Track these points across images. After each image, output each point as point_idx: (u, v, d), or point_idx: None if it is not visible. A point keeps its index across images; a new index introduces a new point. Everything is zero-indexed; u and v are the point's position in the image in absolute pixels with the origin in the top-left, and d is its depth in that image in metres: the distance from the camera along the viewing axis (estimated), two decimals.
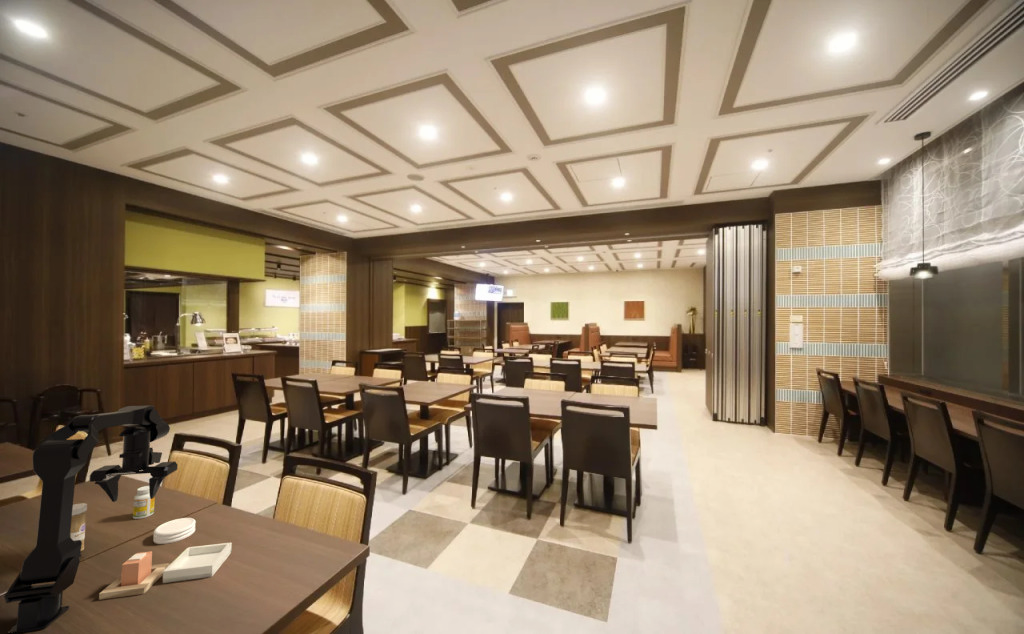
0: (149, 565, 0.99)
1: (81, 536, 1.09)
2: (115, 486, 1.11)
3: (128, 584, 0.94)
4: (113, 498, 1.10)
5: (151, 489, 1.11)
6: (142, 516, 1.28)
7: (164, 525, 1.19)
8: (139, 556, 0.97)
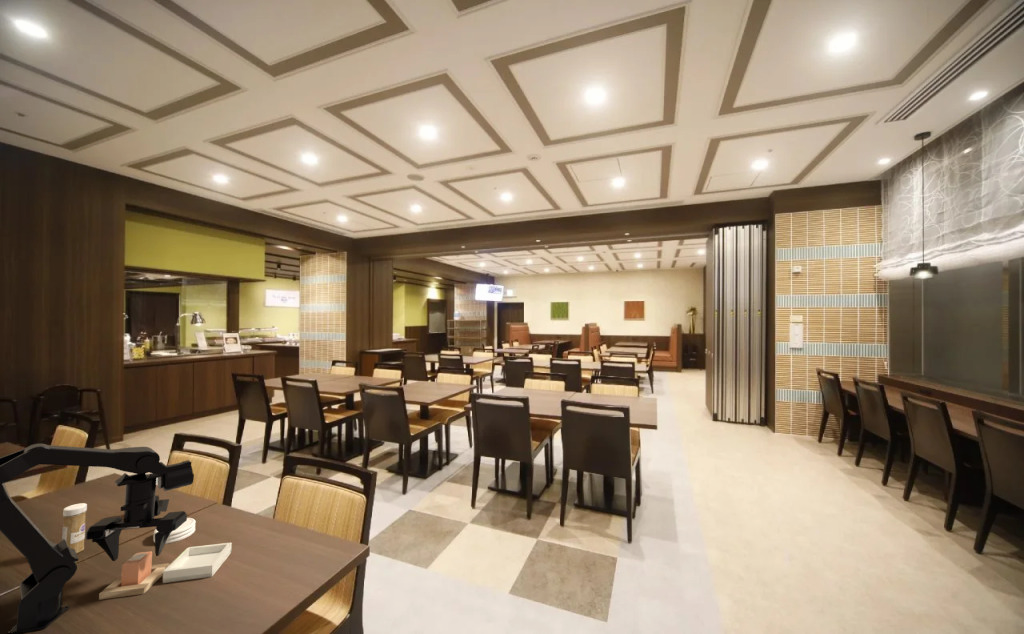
0: (149, 565, 0.99)
1: (81, 536, 1.09)
2: (116, 542, 0.96)
3: (128, 584, 0.94)
4: (113, 557, 0.95)
5: (157, 546, 0.97)
6: None
7: None
8: (139, 556, 0.97)
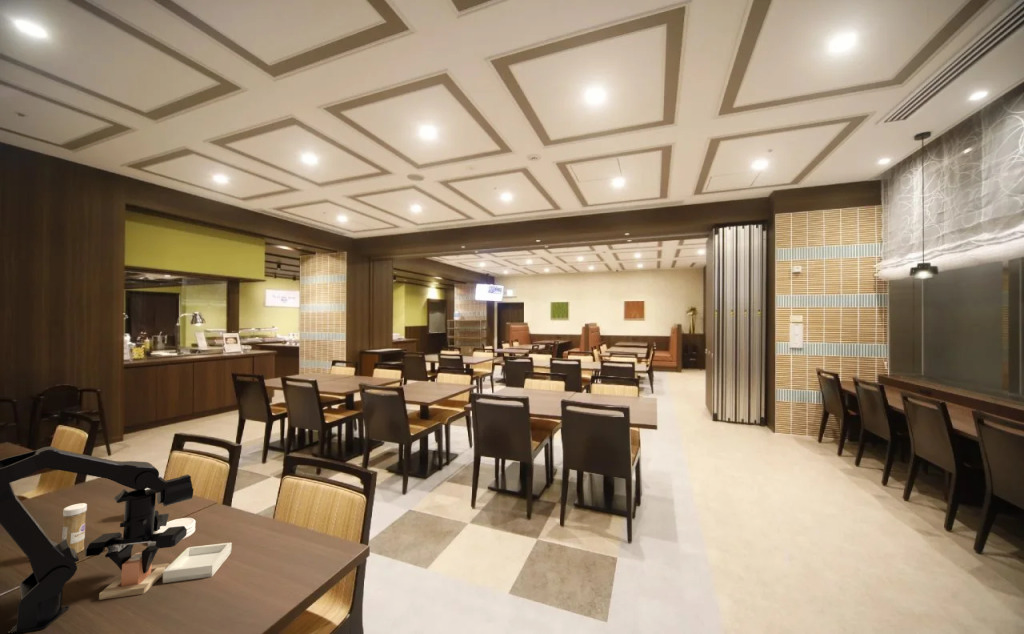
0: None
1: (81, 536, 1.09)
2: (128, 557, 0.97)
3: (128, 584, 0.94)
4: None
5: (144, 563, 0.96)
6: None
7: None
8: (139, 556, 0.97)
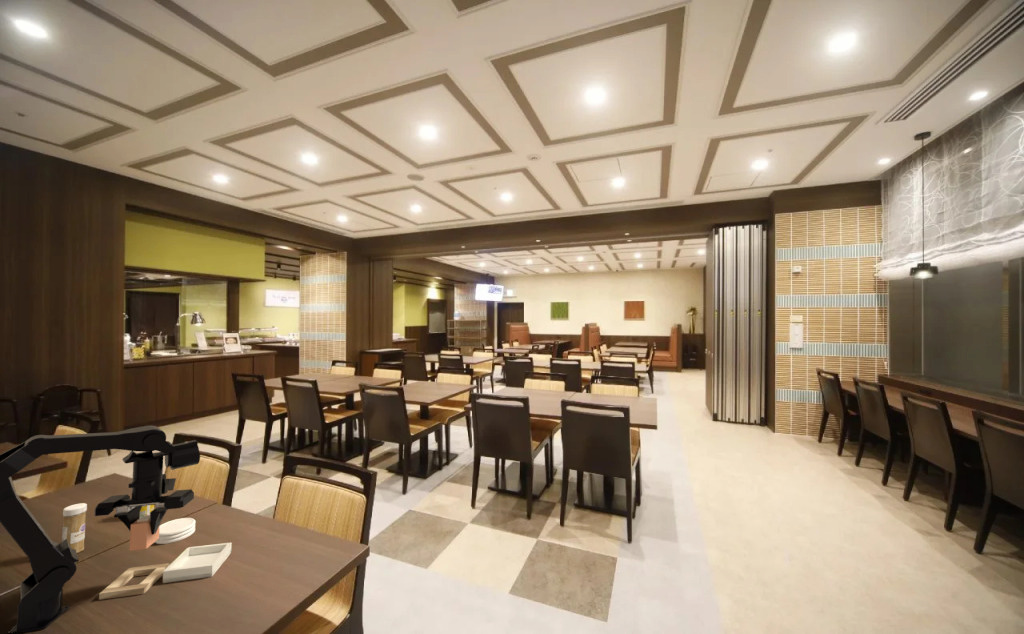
0: None
1: (81, 536, 1.09)
2: (137, 518, 0.98)
3: (137, 544, 0.95)
4: None
5: (152, 524, 0.97)
6: None
7: (164, 525, 1.19)
8: (147, 517, 0.98)
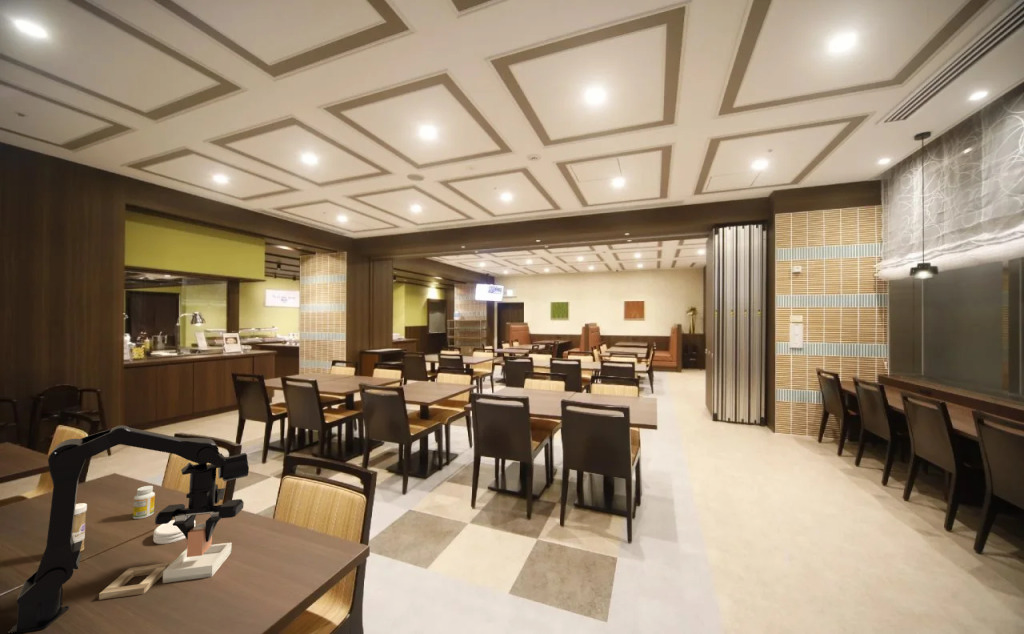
0: None
1: (81, 536, 1.09)
2: (192, 527, 1.04)
3: (193, 551, 1.01)
4: None
5: (207, 532, 1.03)
6: (142, 516, 1.28)
7: (164, 525, 1.19)
8: (202, 525, 1.04)
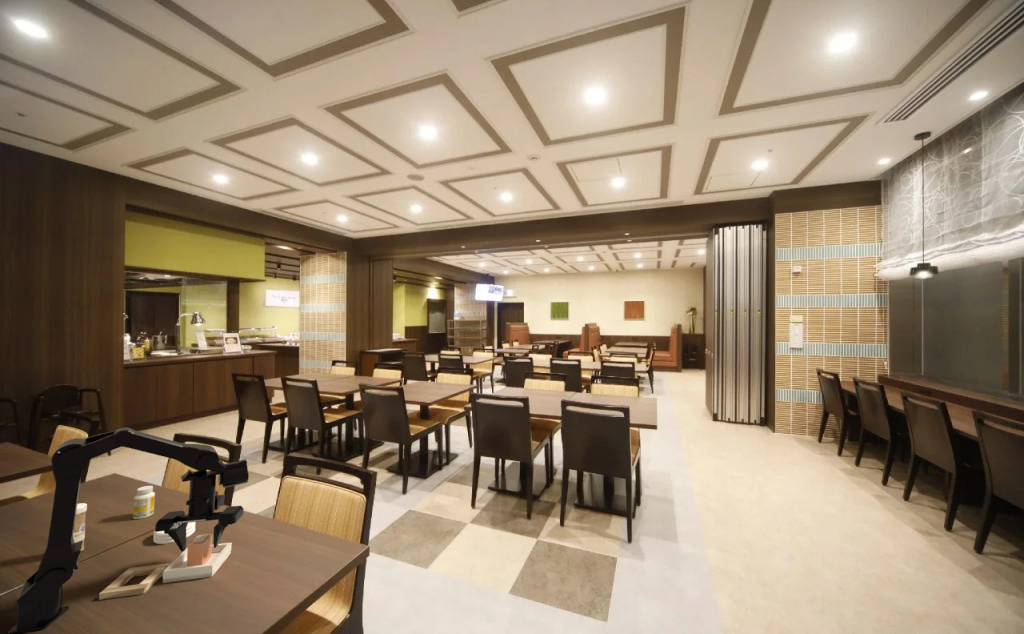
0: (210, 546, 1.06)
1: (81, 536, 1.09)
2: (184, 534, 1.03)
3: (193, 563, 1.01)
4: (182, 548, 1.02)
5: (215, 538, 1.03)
6: (142, 516, 1.28)
7: None
8: (202, 538, 1.04)
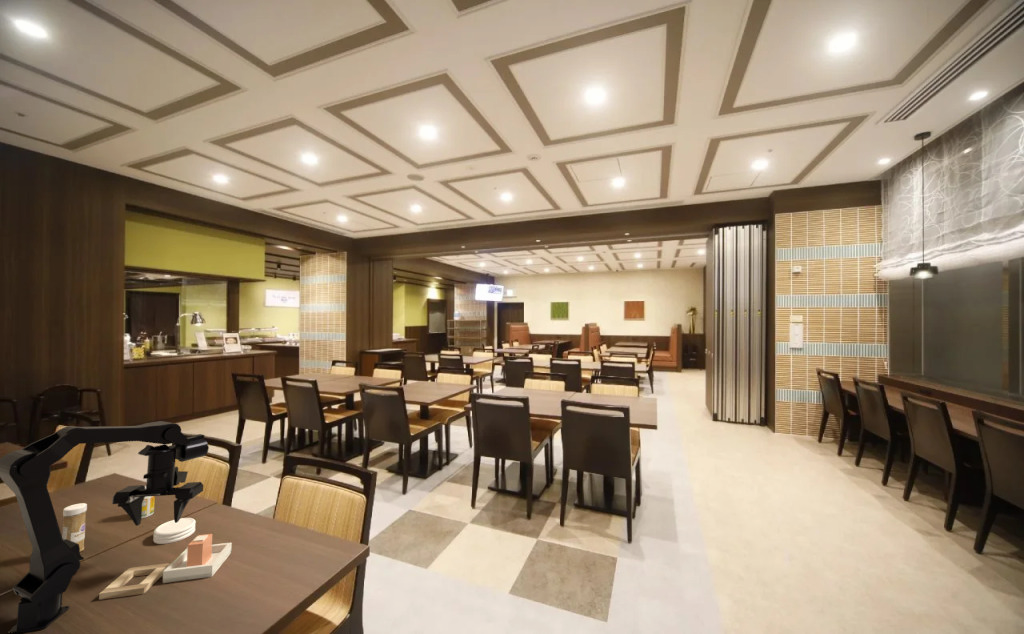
0: (210, 546, 1.06)
1: (81, 536, 1.09)
2: (139, 508, 1.04)
3: (193, 563, 1.01)
4: (136, 522, 1.03)
5: (175, 512, 1.04)
6: (142, 516, 1.28)
7: (164, 525, 1.19)
8: (202, 538, 1.04)
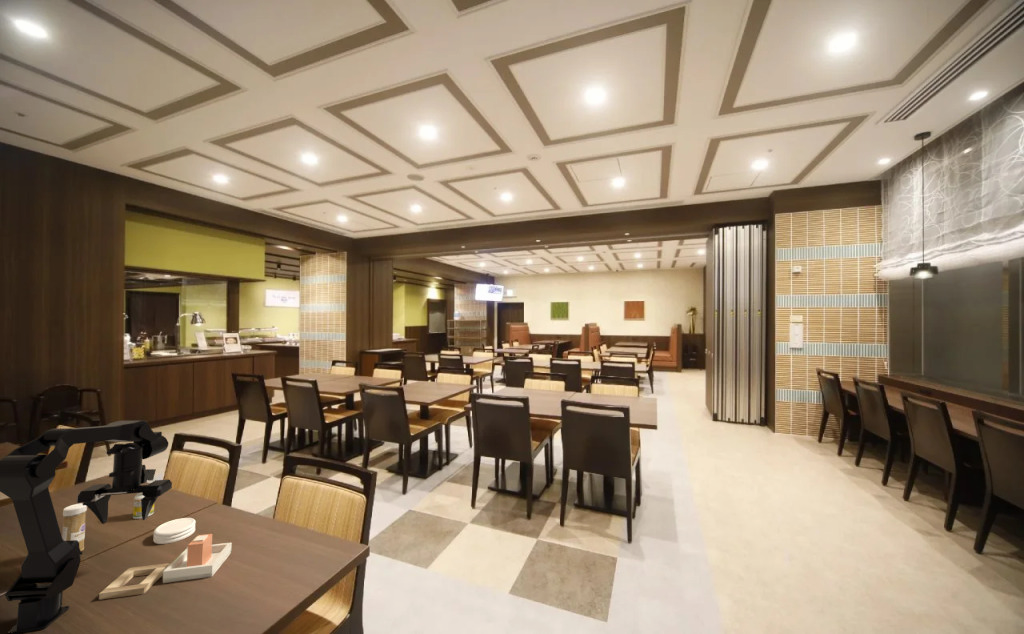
0: (210, 546, 1.06)
1: (81, 536, 1.09)
2: (105, 507, 1.04)
3: (193, 563, 1.01)
4: (103, 520, 1.03)
5: (143, 510, 1.04)
6: None
7: (164, 525, 1.19)
8: (202, 538, 1.04)
